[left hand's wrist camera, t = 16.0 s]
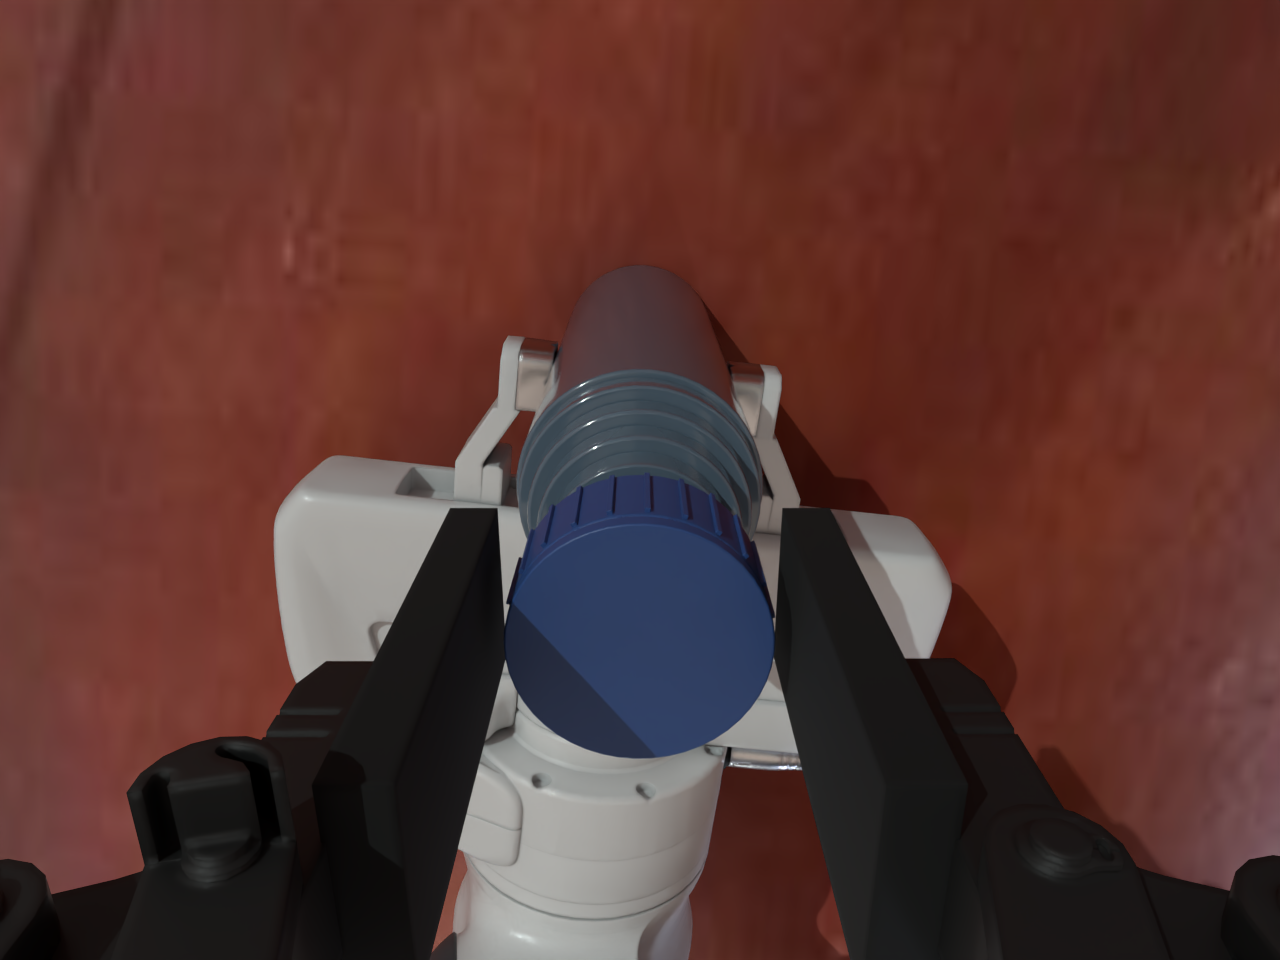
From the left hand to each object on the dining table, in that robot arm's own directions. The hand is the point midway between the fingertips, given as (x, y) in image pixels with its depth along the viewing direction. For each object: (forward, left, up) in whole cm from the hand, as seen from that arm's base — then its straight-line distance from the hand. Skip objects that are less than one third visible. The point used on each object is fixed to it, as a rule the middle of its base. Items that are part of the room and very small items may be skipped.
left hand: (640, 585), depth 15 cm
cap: (0, 0, +2) cm, 2 cm away
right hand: (-1, 0, -12) cm, 12 cm away
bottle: (0, 0, -19) cm, 19 cm away
